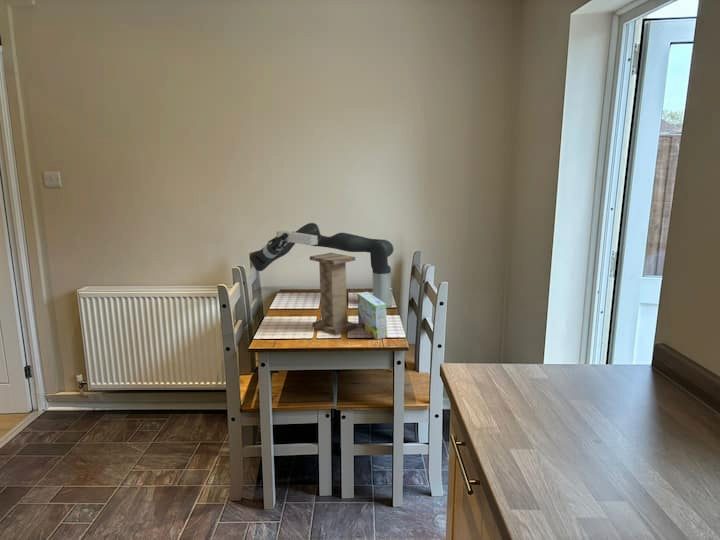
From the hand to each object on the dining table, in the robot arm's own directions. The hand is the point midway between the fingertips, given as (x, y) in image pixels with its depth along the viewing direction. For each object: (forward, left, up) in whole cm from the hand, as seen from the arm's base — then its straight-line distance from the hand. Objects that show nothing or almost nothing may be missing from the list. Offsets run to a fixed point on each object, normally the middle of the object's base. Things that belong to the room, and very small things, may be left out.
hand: (290, 233), depth 226 cm
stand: (-19, +23, -39) cm, 49 cm away
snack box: (-35, +30, -40) cm, 61 cm away
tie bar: (-3, +4, -3) cm, 6 cm away
